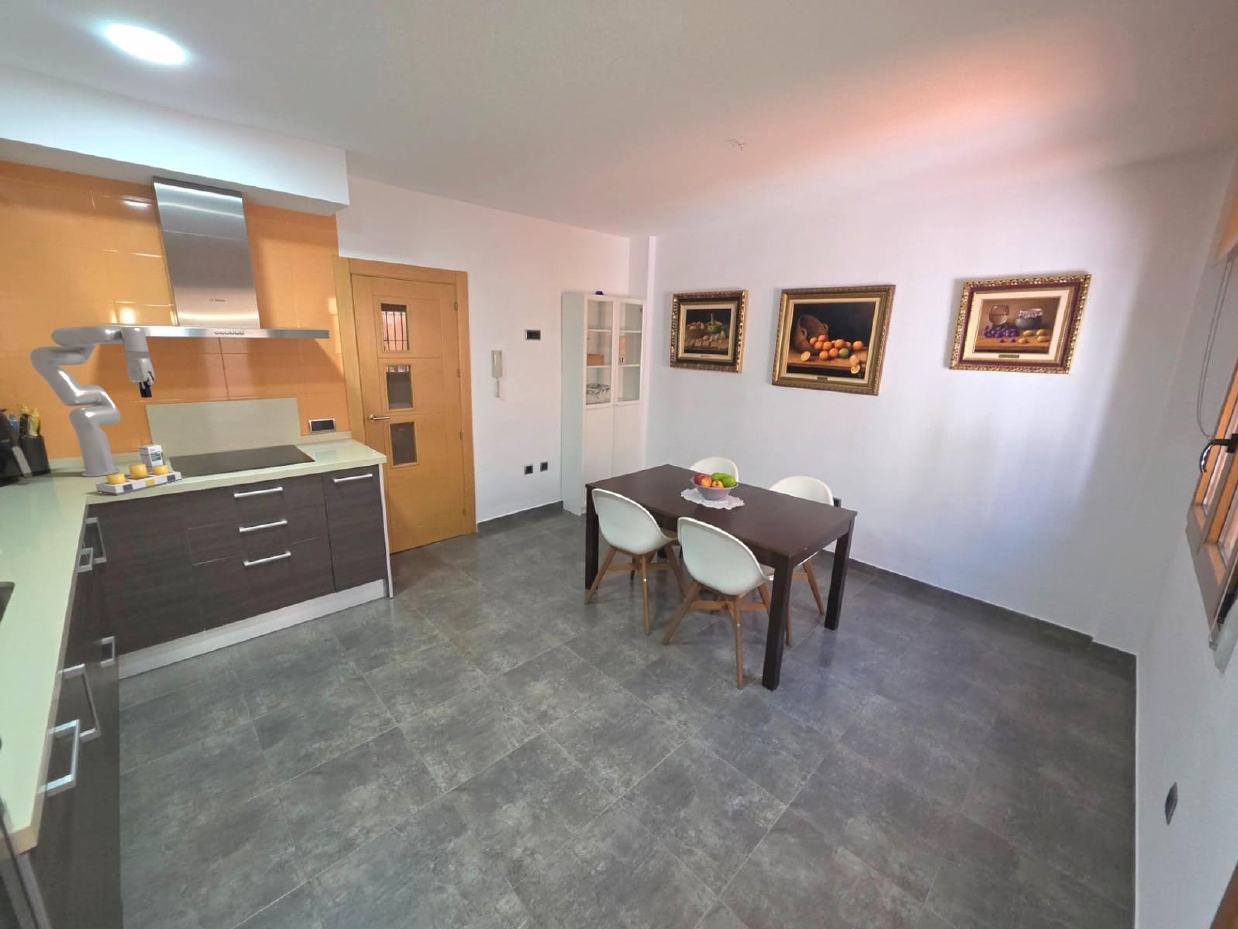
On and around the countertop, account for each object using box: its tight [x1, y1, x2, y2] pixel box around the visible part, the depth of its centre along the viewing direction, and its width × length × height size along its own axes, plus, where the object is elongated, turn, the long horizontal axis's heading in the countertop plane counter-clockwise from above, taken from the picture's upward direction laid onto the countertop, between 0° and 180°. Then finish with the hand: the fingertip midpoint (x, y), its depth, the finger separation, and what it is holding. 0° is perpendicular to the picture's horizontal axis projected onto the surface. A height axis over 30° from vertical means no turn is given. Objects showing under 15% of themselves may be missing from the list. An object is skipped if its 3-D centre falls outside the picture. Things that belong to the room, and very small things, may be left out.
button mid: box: [128, 463, 148, 480], centre depth 213 cm, size 5×5×6 cm
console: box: [95, 470, 183, 497], centre depth 214 cm, size 12×24×4 cm, turn 164°
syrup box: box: [137, 444, 166, 473], centre depth 230 cm, size 6×6×14 cm
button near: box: [106, 472, 126, 485], centre depth 206 cm, size 5×5×6 cm
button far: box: [152, 464, 169, 476], centre depth 221 cm, size 5×5×6 cm
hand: (146, 397), depth 221 cm, fingers closed
